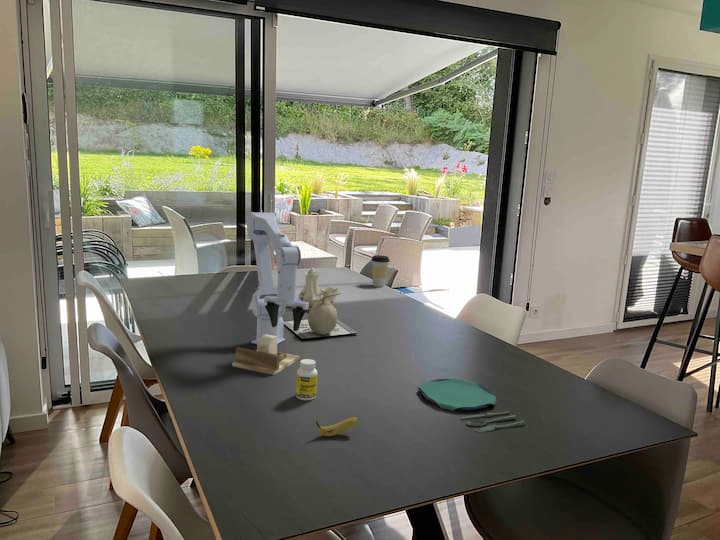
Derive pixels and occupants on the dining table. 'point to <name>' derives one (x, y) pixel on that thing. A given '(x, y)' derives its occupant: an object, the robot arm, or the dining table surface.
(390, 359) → the dining table surface
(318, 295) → the chinaware
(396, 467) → the dining table surface
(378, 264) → the coffee cup
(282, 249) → the robot arm
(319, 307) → the fruit
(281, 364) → the board
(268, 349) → the cabinet block
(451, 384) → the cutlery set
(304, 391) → the supplement bottle
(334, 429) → the banana
